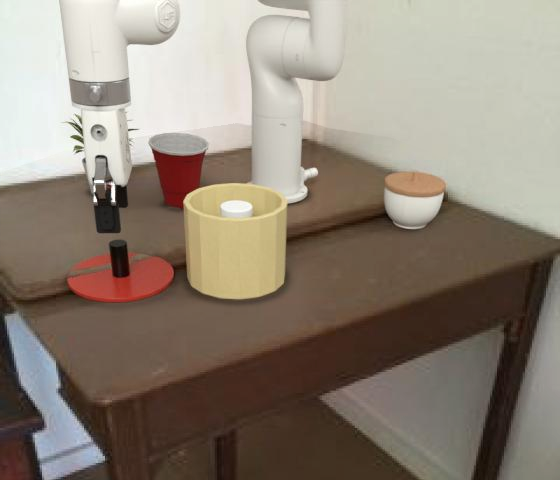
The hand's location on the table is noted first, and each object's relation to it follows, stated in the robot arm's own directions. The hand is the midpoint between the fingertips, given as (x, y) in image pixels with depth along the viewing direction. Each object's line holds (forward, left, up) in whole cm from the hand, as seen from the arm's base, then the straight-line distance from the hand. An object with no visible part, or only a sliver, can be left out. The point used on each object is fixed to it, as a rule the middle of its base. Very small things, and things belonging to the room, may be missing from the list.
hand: (113, 219), depth 99 cm
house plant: (-16, -35, -10) cm, 40 cm away
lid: (0, 0, -9) cm, 9 cm away
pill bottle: (-15, +10, -10) cm, 20 cm away
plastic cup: (-25, -21, -10) cm, 34 cm away
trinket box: (-53, +11, -10) cm, 55 cm away
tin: (-14, +10, -10) cm, 20 cm away
